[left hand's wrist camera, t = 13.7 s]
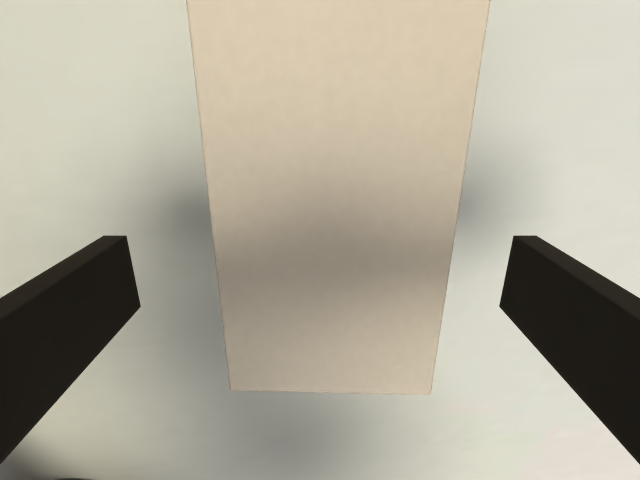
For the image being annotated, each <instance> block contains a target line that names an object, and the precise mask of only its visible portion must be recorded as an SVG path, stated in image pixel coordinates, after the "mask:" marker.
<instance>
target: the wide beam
mask: <svg viewBox="0 0 640 480" xmlns="http://www.w3.org/2000/svg"><path fill="white" fill-rule="evenodd" d="M186 2H187V11H188V20H189V29H190V38H191V47H192V56H193V65H194V74H195V82H196V91H197V100H198V109H199V118H200V127H201V136H202V145H203V153H204V162H205V171H206V180H207V189H208V198H209V207H210V216H211V225H212V233H213V242H214V251H215V260H216V269H217V278H218V287H219V296H220V304H221V313H222V322H223V331H224V340H225V349H226V358H227V367H228V376H229V384H230V390H232V391H276V392H321V393H367V394H412V395H430V394H431V388H432V381H433V375H434V368H435V361H436V355H437V348H438V342H439V335H440V329H441V322H442V315H443V309H444V302H445V296H446V289H447V283H448V276H449V269H450V263H451V256H452V250H453V243H454V237H455V230H456V223H457V217H458V210H459V204H460V197H461V191H462V184H463V177H464V171H465V164H466V158H467V151H468V145H469V138H470V131H471V125H472V118H473V112H474V105H475V99H476V92H477V85H478V79H479V72H480V66H481V59H482V53H483V46H484V39H485V33H486V26H487V20H488V13H489V7H490V0H186Z"/></svg>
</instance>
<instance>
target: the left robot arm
mask: <svg viewBox="0 0 640 480" xmlns="http://www.w3.org/2000/svg"><path fill="white" fill-rule="evenodd" d="M140 307H141V306H140V301H139V296H138V291H137V286H136V281H135V276H134V271H133V266H132V261H131V256H130V251H129V246H128V241H127V236H103V237H101V238H99V239H98V240H96V241H94V242H93V243H91V244H89V245H88V246H86V247H84V248H83V249H81V250H79V251H78V252H76V253H74V254H73V255H71V256H69V257H68V258H66V259H64V260H63V261H61V262H59V263H58V264H56V265H55V266H53V267H51V268H50V269H48V270H46V271H45V272H43V273H41V274H40V275H38V276H36V277H35V278H33V279H31V280H30V281H28V282H26V283H25V284H23V285H21V286H20V287H18V288H16V289H15V290H13V291H11V292H10V293H8V294H7V295H5V296H3V297H2V298H0V464H1V463H2V462H3V461H4V460H5V458H6V457H7V456H8V455H9V454H10V453H11V452H12V451H13V449H14V448H15V447H16V446H17V445H18V444H19V443H20V442H21V440H22V439H23V438H24V437H25V436H26V435H27V434H28V433H29V431H30V430H31V429H32V428H33V427H34V426H35V425H36V424H37V422H38V421H39V420H40V419H41V418H42V417H43V416H44V415H45V414H46V412H47V411H48V410H49V409H50V408H51V407H52V406H53V405H54V403H55V402H56V401H57V400H58V399H59V398H60V397H61V396H62V394H63V393H64V392H65V391H66V390H67V389H68V388H69V387H70V385H71V384H72V383H73V382H74V381H75V380H76V379H77V378H78V376H79V375H80V374H81V373H82V372H83V371H84V370H85V369H86V367H87V366H88V365H89V364H90V363H91V362H92V361H93V360H94V358H95V357H96V356H97V355H98V354H99V353H100V352H101V351H102V349H103V348H104V347H105V346H106V345H107V344H108V343H109V342H110V340H111V339H112V338H113V337H114V336H115V335H116V334H117V333H118V331H119V330H120V329H121V328H122V327H123V326H124V325H125V324H126V322H127V321H128V320H129V319H130V318H131V317H132V316H133V315H134V313H135V312H136V311H137V310H138V309H139V308H140ZM499 307H500V308H501V309H502V310H503V311H504V312H505V314H506V315H507V316H508V317H509V318H510V319H511V320H512V321H513V322H514V324H515V325H516V326H517V327H518V328H519V329H520V330H521V331H522V333H523V334H524V335H525V336H526V337H527V338H528V339H529V340H530V342H531V343H532V344H533V345H534V346H535V347H536V348H537V349H538V351H539V352H540V353H541V354H542V355H543V356H544V357H545V358H546V360H547V361H548V362H549V363H550V364H551V365H552V366H553V367H554V369H555V370H556V371H557V372H558V373H559V374H560V375H561V376H562V378H563V379H564V380H565V381H566V382H567V383H568V384H569V385H570V387H571V388H572V389H573V390H574V391H575V392H576V393H577V394H578V396H579V397H580V398H581V399H582V400H583V401H584V402H585V403H586V405H587V406H588V407H589V408H590V409H591V410H592V411H593V412H594V414H595V415H596V416H597V417H598V418H599V419H600V420H601V421H602V422H603V424H604V425H605V426H606V427H607V428H608V429H609V430H610V431H611V433H612V434H613V435H614V436H615V437H616V438H617V439H618V440H619V442H620V443H621V444H622V445H623V446H624V447H625V448H626V449H627V451H628V452H629V453H630V454H631V455H632V456H633V457H634V458H635V460H636V461H637V462H638V463H639V464H640V298H638V297H637V296H635V295H633V294H632V293H630V292H629V291H627V290H625V289H624V288H622V287H620V286H619V285H617V284H615V283H614V282H612V281H610V280H609V279H607V278H605V277H604V276H602V275H600V274H599V273H597V272H595V271H594V270H592V269H590V268H589V267H587V266H585V265H584V264H582V263H581V262H579V261H577V260H576V259H574V258H572V257H571V256H569V255H567V254H566V253H564V252H562V251H561V250H559V249H557V248H556V247H554V246H552V245H551V244H549V243H547V242H546V241H544V240H542V239H541V238H539V237H537V236H513V241H512V246H511V251H510V256H509V261H508V266H507V271H506V276H505V281H504V286H503V291H502V296H501V301H500V306H499Z"/></svg>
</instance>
